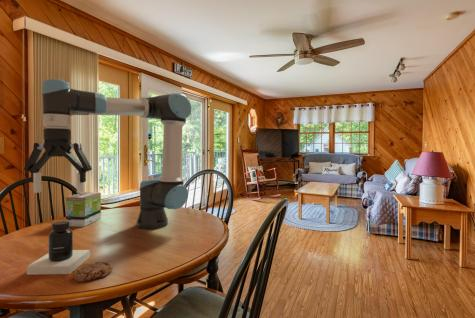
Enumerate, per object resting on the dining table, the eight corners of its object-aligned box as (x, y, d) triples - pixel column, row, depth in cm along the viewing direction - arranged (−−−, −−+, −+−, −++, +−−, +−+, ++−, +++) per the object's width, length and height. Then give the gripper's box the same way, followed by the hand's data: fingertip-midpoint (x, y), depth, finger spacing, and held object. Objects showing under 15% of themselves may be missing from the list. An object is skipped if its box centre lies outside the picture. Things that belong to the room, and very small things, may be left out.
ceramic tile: (90, 256, 98) (89, 249, 98) (69, 273, 85) (69, 266, 85) (52, 257, 97) (52, 250, 97) (26, 274, 84) (26, 266, 84)
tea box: (85, 227, 132) (84, 197, 131) (65, 226, 132) (64, 196, 131) (101, 218, 147) (101, 191, 146) (83, 218, 147) (82, 191, 146)
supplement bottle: (54, 263, 86) (53, 226, 85) (44, 258, 90) (43, 223, 89) (77, 256, 92) (76, 221, 91) (66, 251, 95) (66, 218, 95)
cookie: (66, 280, 81) (66, 270, 81) (96, 265, 91) (95, 257, 91) (90, 286, 78) (90, 276, 78) (118, 270, 88) (118, 261, 88)
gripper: (8, 126, 84) (11, 194, 85) (91, 128, 85) (92, 194, 87) (26, 128, 91) (28, 190, 93) (101, 129, 93) (102, 190, 94)
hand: (59, 192), depth 90 cm, fingers open, 13 cm apart
